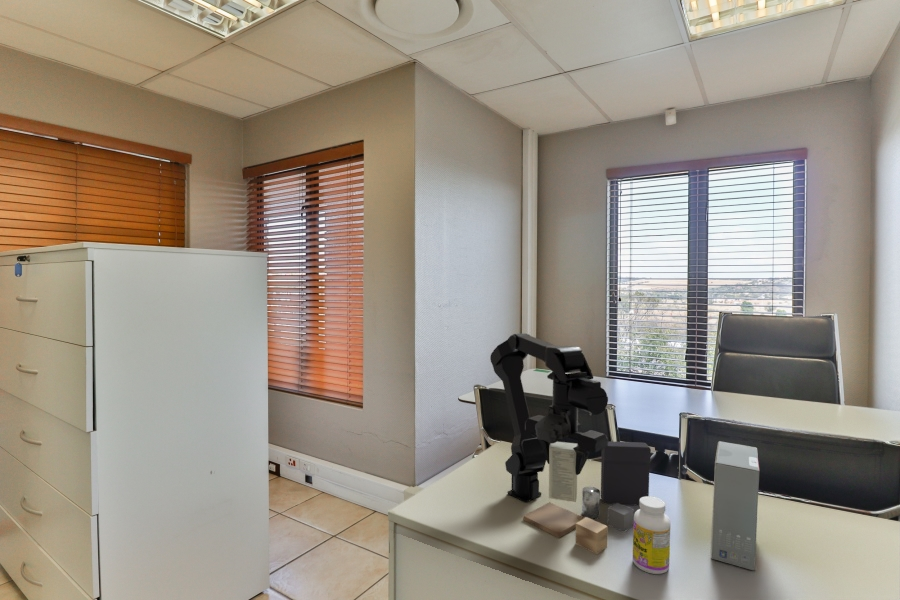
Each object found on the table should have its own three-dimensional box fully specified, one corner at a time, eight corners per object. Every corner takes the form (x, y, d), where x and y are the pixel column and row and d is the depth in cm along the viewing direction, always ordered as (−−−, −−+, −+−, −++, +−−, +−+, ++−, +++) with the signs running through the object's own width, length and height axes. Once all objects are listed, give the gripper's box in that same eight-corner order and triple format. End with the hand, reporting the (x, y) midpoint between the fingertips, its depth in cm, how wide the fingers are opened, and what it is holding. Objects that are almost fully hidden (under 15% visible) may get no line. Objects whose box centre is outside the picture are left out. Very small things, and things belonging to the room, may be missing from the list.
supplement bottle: (626, 555, 95) (627, 494, 94) (657, 554, 95) (659, 492, 95) (642, 577, 88) (644, 510, 88) (676, 575, 89) (678, 509, 88)
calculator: (643, 499, 119) (645, 441, 118) (649, 507, 115) (650, 447, 114) (599, 496, 120) (600, 439, 119) (603, 505, 116) (604, 445, 115)
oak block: (575, 543, 99) (575, 523, 99) (586, 537, 102) (586, 516, 102) (596, 554, 95) (596, 533, 95) (607, 547, 98) (607, 526, 98)
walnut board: (523, 519, 109) (523, 515, 109) (549, 506, 115) (549, 502, 115) (559, 538, 101) (559, 533, 101) (585, 522, 108) (585, 517, 108)
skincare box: (577, 494, 108) (578, 443, 108) (576, 503, 104) (578, 450, 103) (549, 489, 110) (551, 439, 109) (547, 498, 106) (549, 446, 105)
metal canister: (578, 514, 111) (579, 489, 111) (588, 509, 114) (588, 485, 114) (593, 521, 108) (594, 495, 108) (602, 515, 111) (603, 490, 111)
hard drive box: (755, 573, 90) (759, 471, 88) (710, 560, 94) (713, 462, 93) (754, 535, 103) (757, 446, 102) (714, 525, 107) (716, 439, 106)
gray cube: (607, 525, 107) (607, 508, 107) (616, 519, 109) (617, 502, 109) (623, 532, 104) (624, 514, 104) (632, 526, 106) (633, 509, 106)
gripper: (510, 399, 107) (509, 465, 108) (581, 419, 93) (579, 494, 95) (540, 391, 115) (538, 453, 116) (610, 408, 101) (607, 478, 102)
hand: (563, 468), depth 107 cm, fingers closed on skincare box, 7 cm apart
